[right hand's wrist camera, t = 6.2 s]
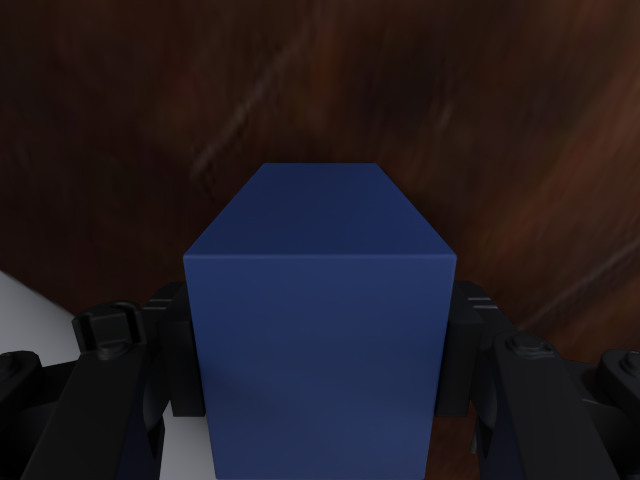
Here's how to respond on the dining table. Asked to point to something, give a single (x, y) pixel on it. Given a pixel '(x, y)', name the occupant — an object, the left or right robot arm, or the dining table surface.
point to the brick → (319, 326)
